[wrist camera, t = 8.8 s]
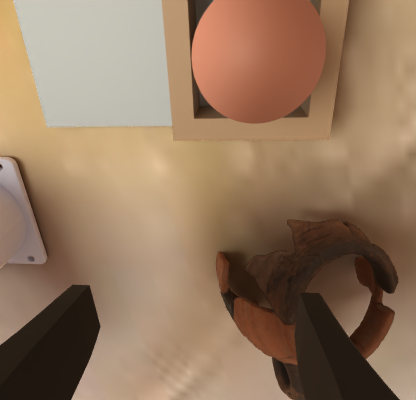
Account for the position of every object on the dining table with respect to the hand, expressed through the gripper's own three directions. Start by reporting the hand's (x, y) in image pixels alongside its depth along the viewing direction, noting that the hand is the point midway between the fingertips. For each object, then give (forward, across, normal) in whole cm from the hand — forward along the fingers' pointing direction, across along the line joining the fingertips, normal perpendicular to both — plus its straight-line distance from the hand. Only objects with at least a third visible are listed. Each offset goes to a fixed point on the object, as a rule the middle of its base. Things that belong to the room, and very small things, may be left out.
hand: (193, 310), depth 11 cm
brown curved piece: (+10, -5, +7) cm, 13 cm away
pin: (+9, -2, -8) cm, 12 cm away
